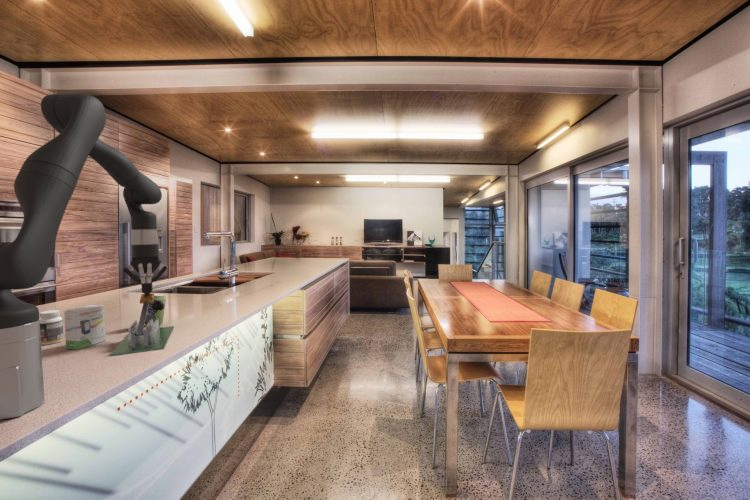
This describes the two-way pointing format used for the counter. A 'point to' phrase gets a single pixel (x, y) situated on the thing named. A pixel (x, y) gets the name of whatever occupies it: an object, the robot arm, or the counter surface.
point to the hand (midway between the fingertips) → (147, 294)
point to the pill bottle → (51, 327)
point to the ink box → (84, 326)
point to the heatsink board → (144, 337)
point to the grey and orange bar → (144, 311)
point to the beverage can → (157, 307)
